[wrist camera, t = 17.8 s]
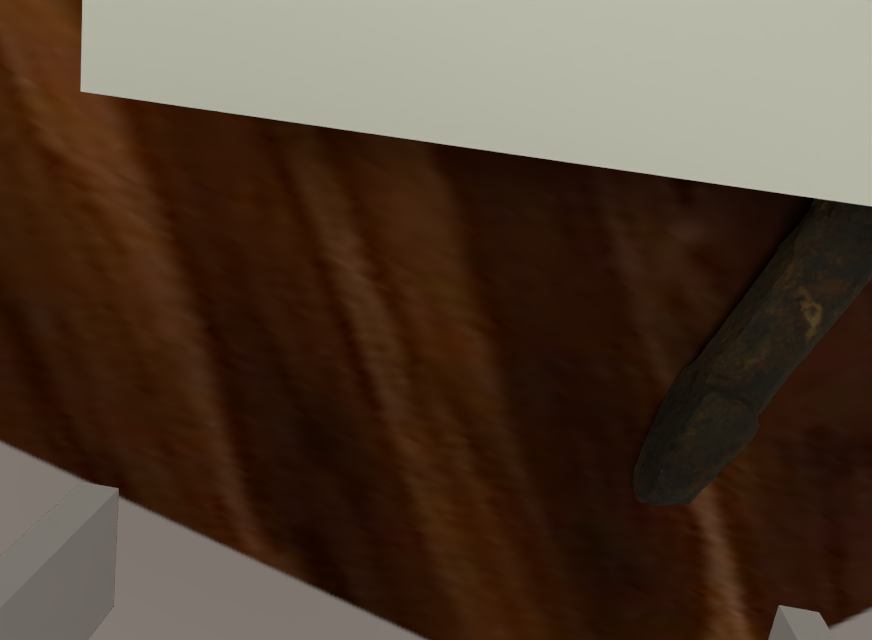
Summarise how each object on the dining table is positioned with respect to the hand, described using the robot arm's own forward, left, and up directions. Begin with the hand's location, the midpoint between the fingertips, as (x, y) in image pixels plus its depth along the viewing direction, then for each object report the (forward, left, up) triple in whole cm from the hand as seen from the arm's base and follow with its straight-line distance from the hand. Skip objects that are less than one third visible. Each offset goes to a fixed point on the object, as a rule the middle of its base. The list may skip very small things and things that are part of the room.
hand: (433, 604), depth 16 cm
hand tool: (+12, +3, -20) cm, 24 cm away
